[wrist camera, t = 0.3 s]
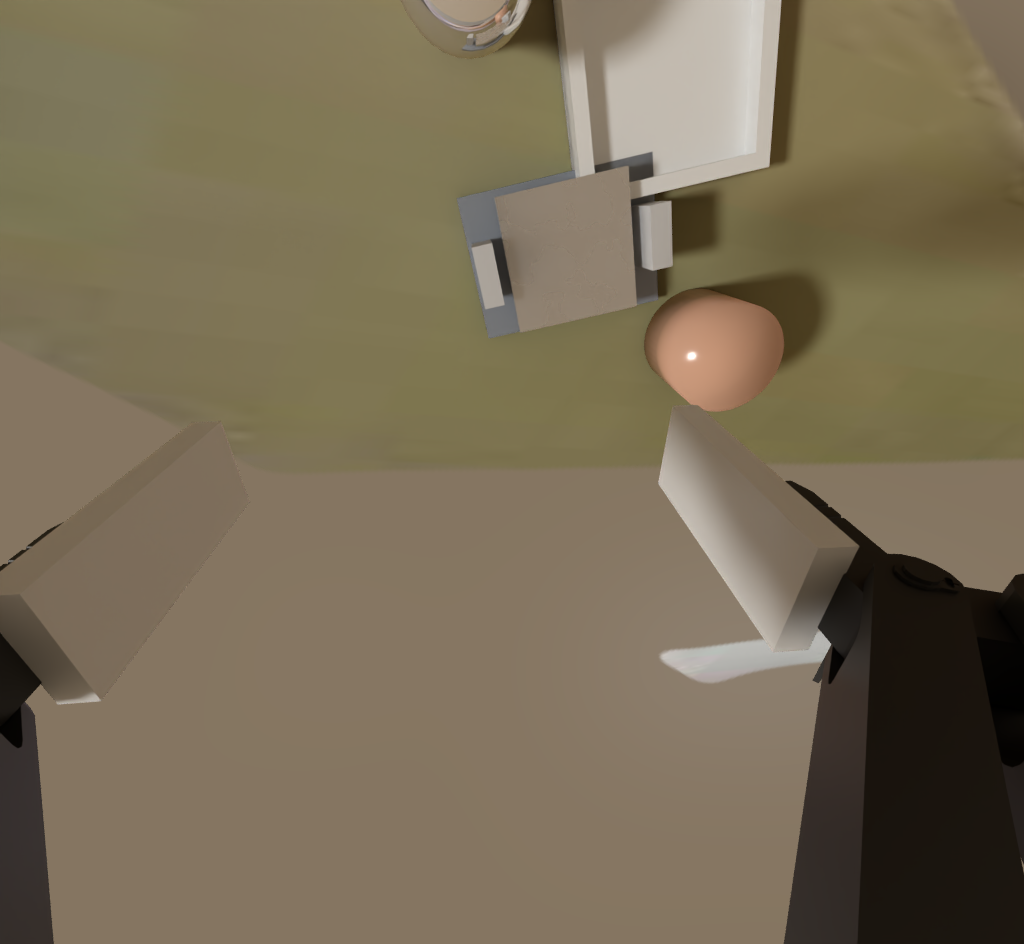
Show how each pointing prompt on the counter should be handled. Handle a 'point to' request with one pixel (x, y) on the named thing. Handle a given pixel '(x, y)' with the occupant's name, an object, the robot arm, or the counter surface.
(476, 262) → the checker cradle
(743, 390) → the peach rounded pebble
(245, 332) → the counter surface
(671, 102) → the tray
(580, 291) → the plate
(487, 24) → the light bulb
